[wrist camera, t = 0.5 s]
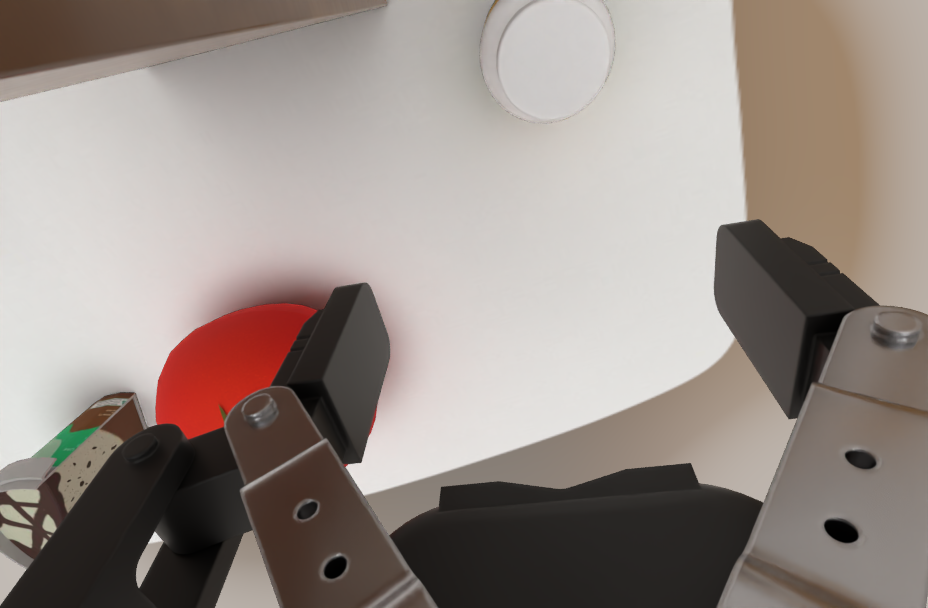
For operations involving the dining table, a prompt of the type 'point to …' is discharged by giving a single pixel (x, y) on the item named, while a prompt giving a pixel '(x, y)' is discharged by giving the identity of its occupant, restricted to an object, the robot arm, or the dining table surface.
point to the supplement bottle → (546, 56)
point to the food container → (61, 474)
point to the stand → (136, 34)
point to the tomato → (226, 365)
